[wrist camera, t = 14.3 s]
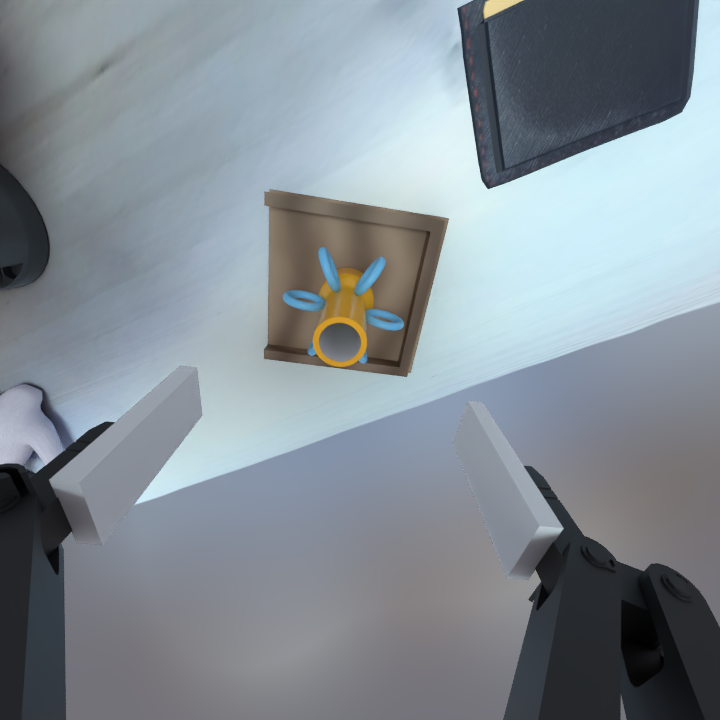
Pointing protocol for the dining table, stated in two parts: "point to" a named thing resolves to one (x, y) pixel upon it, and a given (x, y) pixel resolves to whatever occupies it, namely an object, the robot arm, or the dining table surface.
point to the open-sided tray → (349, 250)
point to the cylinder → (343, 311)
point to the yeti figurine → (26, 427)
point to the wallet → (571, 75)
